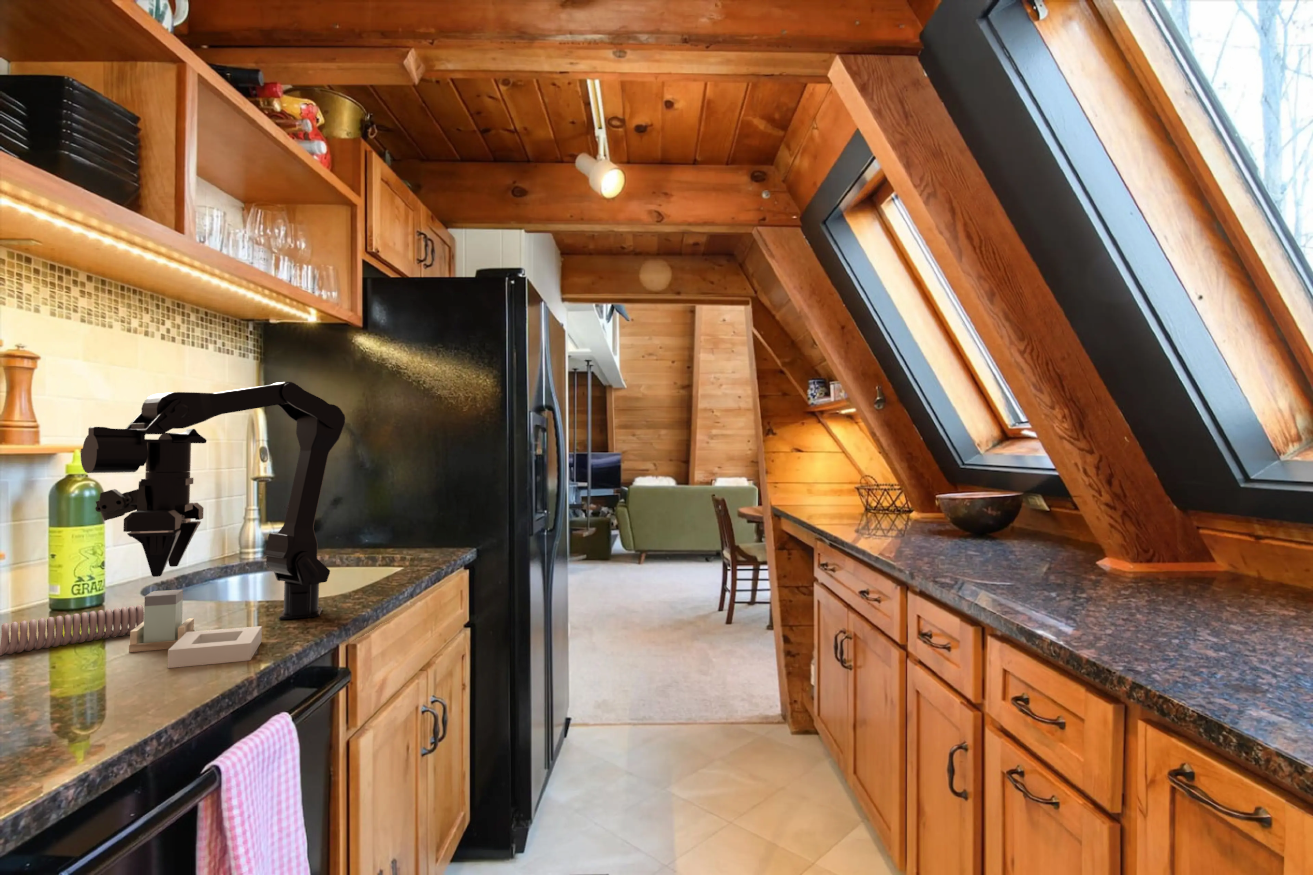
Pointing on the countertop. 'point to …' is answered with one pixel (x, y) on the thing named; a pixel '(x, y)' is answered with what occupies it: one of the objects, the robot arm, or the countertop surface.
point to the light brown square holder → (138, 644)
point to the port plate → (215, 646)
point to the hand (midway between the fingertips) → (165, 571)
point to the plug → (162, 615)
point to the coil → (93, 621)
